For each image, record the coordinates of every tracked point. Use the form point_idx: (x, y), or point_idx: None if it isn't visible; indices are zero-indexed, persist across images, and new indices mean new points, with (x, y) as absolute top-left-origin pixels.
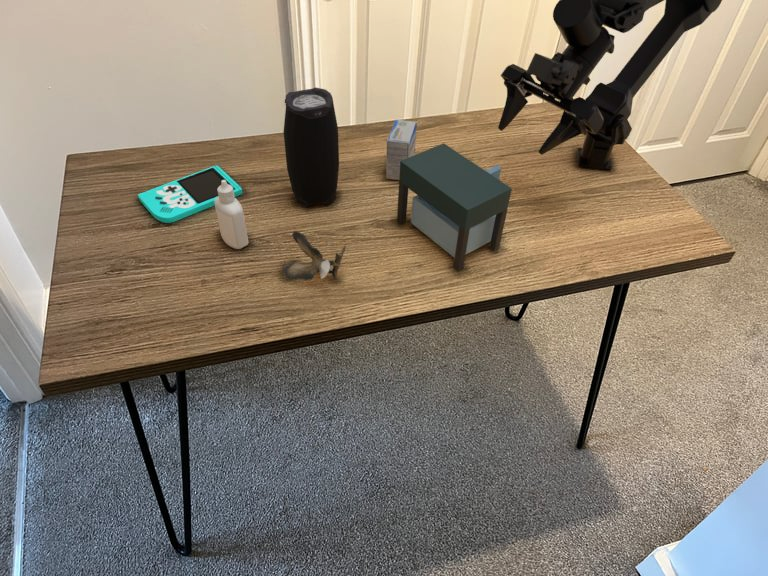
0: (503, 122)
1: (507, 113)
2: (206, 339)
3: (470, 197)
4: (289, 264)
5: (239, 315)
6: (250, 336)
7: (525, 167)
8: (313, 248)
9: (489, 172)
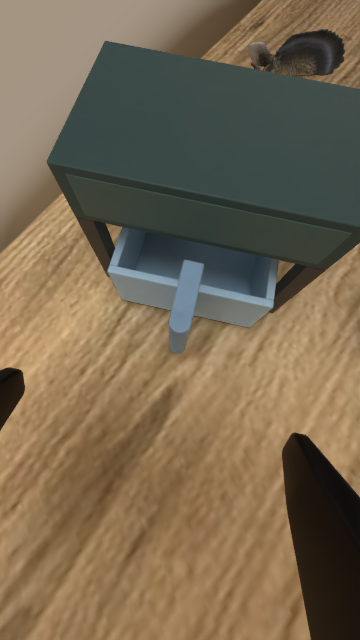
0: (307, 465)
1: (346, 528)
2: (275, 4)
3: (126, 75)
4: None
5: (280, 30)
6: (248, 21)
7: (213, 605)
8: (294, 35)
9: (184, 280)
